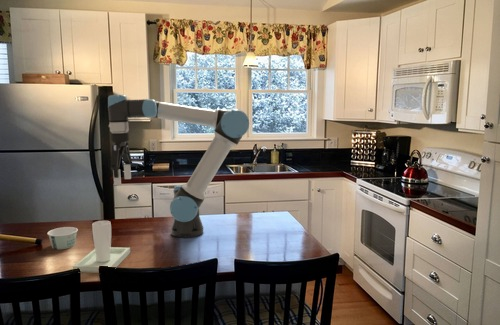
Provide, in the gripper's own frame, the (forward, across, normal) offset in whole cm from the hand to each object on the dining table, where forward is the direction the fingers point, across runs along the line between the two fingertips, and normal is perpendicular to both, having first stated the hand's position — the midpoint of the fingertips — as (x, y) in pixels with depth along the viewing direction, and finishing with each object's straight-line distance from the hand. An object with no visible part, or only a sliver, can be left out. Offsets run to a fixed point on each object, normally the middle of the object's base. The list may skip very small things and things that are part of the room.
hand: (123, 182), depth 170 cm
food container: (+27, +2, -27) cm, 39 cm away
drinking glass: (+27, +20, -3) cm, 34 cm away
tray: (+28, +20, -3) cm, 34 cm away
